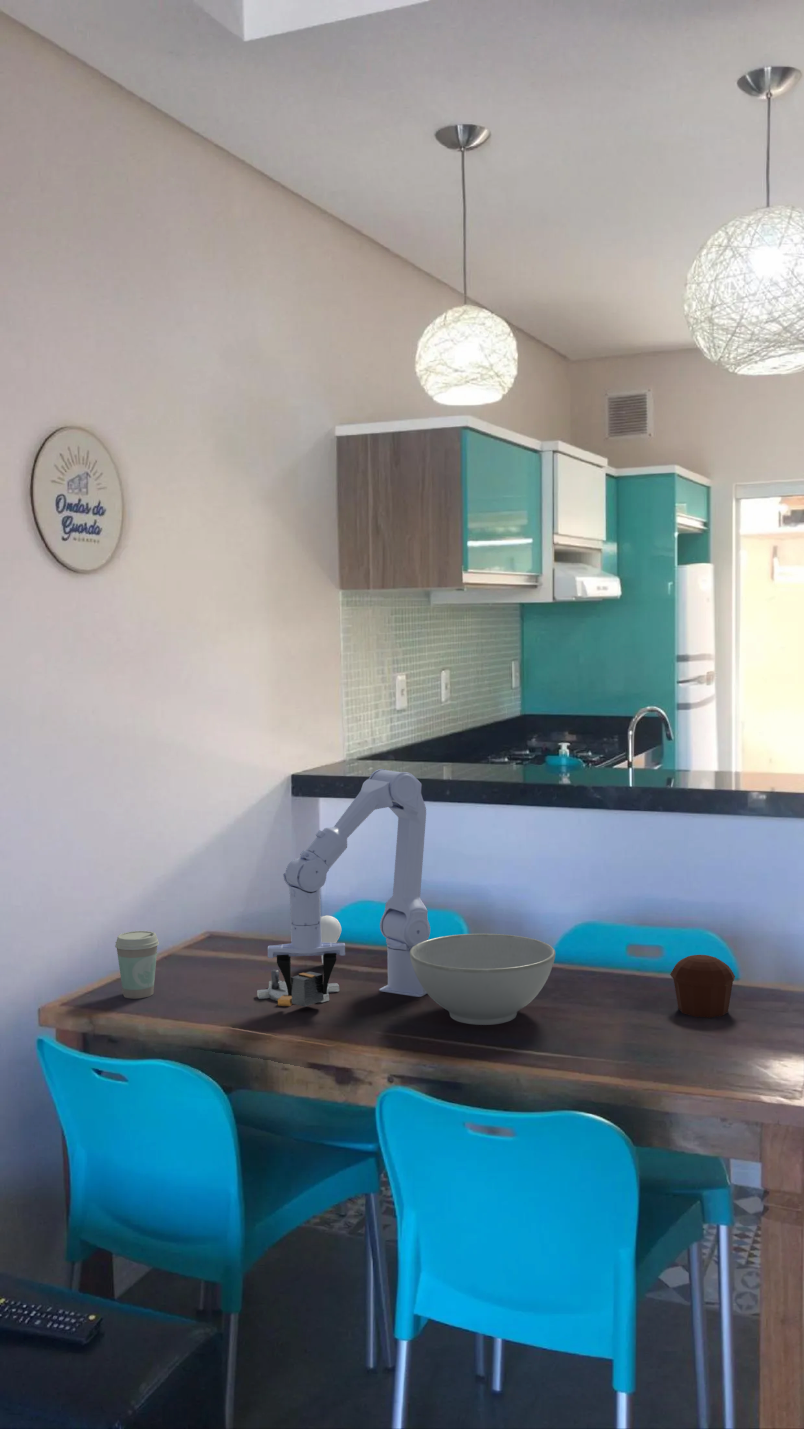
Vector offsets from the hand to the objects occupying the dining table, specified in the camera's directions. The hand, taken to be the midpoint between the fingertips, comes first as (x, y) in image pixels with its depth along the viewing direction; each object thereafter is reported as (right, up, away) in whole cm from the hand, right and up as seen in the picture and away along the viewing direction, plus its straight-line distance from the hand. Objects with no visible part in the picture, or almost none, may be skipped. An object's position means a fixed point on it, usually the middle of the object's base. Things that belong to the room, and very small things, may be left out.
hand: (307, 993), depth 225 cm
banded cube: (0, -1, -1) cm, 2 cm away
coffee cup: (-35, -3, +12) cm, 37 cm away
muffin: (+74, -2, -4) cm, 74 cm away
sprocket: (-3, -2, +10) cm, 10 cm away
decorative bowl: (+33, -3, -5) cm, 33 cm away
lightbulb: (+2, -2, +31) cm, 31 cm away
